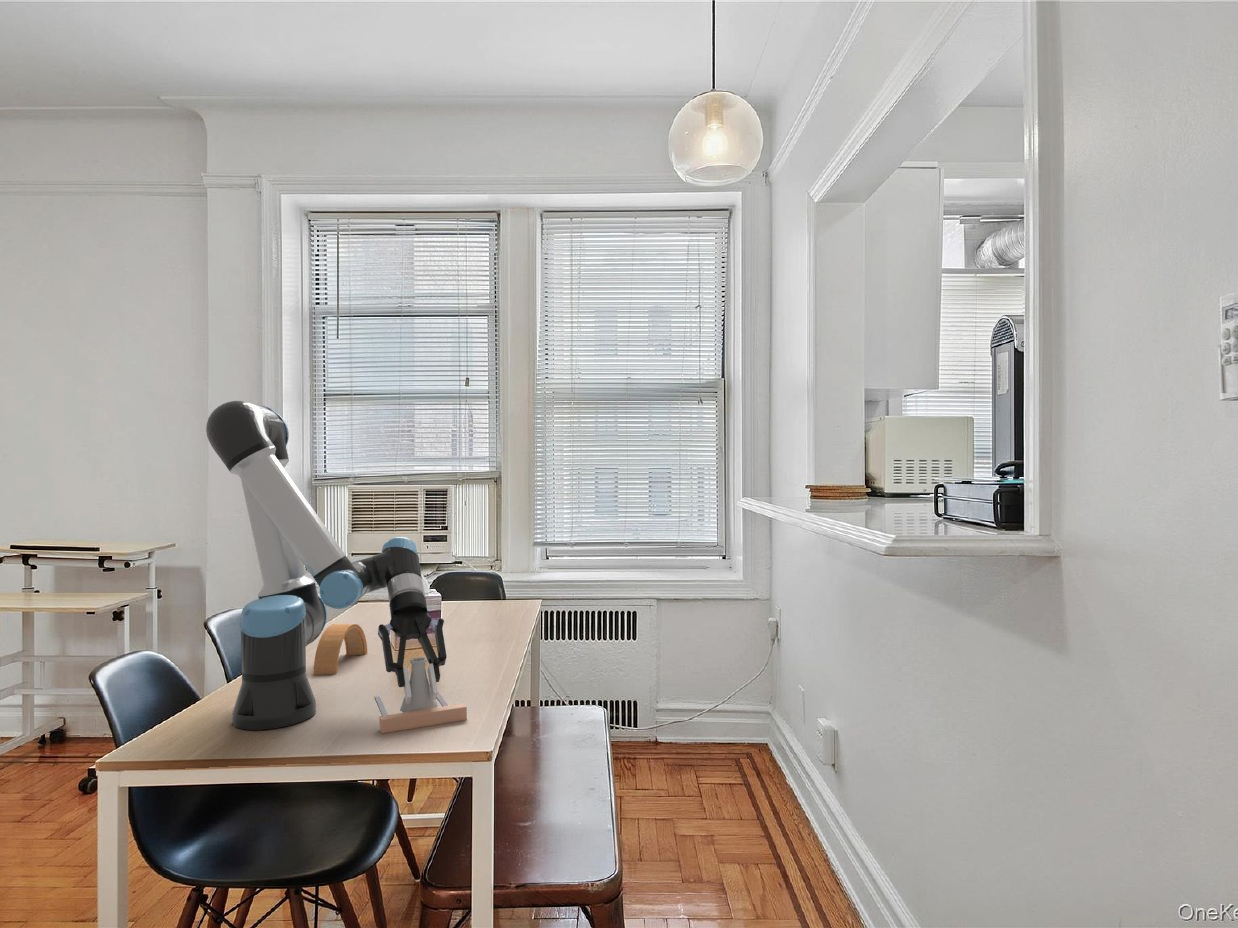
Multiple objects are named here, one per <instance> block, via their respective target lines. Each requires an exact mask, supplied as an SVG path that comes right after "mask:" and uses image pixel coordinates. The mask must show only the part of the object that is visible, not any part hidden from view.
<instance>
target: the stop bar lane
mask: <svg viewBox="0 0 1238 928" xmlns="http://www.w3.org/2000/svg"><path fill="white" fill-rule="evenodd" d="M374 699H375V701H376V703H377V706H378V708H379V710H380V712H381V715H379V731H380V733H381V734H386V733H392V732H399V731H405V730H412V729H416V728H417V729H418V728H423V727H429V726H430V727H431V726H436V725H442V724H448V723H453V722H460V721H466V720H468V719H467V718H468V717H467V715H468V712H467V709H468V708H467V705H466V704H465V703H457V704H448V703H447V702H446V701H445V699H444V698H443V696H442V695H441V694H440V692H439V691H438V694H437V698H436V699H437V700H438V701H439V703H440V704H441V705H442V706H437V707H436V708H430V709H423V710H417V711H410V712H397V713H392V714H388V711H387V709H386V707H385V705H384V703H383V701H382V699H381V696H379V695H377V696H374Z"/></svg>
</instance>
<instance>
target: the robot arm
mask: <svg viewBox="0 0 1238 928" xmlns="http://www.w3.org/2000/svg"><path fill="white" fill-rule="evenodd" d="M205 428H206V429H205V431H206V437H207V440H208V442H209V444H210V446H211V448H213V451H214V452H215V454H216V455H217V456H218V457H219V458H220V460H221V461H222V463H223V464H224V466H225V467H226V469H227V470H228V471H229V473H230V474H232V475H236V476H238V477H239V478H240V482H241V486H242V491H243V495H244V501H245V505H246V509H247V515H248V518H249V523H250V527H251V532H252V537H253V541H254V542H253V543H254V547H255V550H256V555H257V559H258V564H259V570H260V574H261V579H262V582H263V586H262V588H261V589H260V591H259V592H258V594H257V599H253V600H252V601H250V602H248V603H247V604H246V605H244V606H243V608H242V610H241V616H240V623H239V627H240V628H239V629H240V636H241V637H240V645H241V646H240V647H241V653H240V654H241V656H240V657H241V686H240V687H239V692H238V693H237V694H238V695H237V698H236V700H235V704H234V706H233V710H232V715H231V716H232V719H231V720H232V722H231V723H232V725H233V727H234V728H236V729H241V730H247V731H248V730H249V731H259V730H260V731H262V730H263V731H264V730H272V729H278V728H284V727H288V726H292V725H295V724H298V723H301V722H304V721H307V720H309V719H310V718H312V717H313V716H314V715H315V714H317V713H316V712H317V703H316V702H317V701H316V698H315V695H314V692H313V690H312V686H311V684H310V682H309V679H308V676H307V659H306V658H307V653H306V652H307V651H306V650H307V646H308V645H310V644H312V643H313V642H314V641H316V640H317V639H318V637H319V636H320V635H322V634H321V633H322V632H324V629H325V627H326V623H327V621H328V609H327V607H329V608H331V609H332V608H333V609H336V610H340V609H341V610H342V609H345V608H348V607H350V606H353V605H355V604H356V603H358V601H359V600H360V599H361V598H363V596H365V595H366V594H369V593H372V592H375V591H378V590H381V589H385V588H387V597H388V602H389V604H388V605H389V615H390V620H389V623H387V624H379V626H378V629H377V635H378V637H379V638H380V640H381V642H382V643H381V644H382V651H383V652H382V653H383V658H384V664H385V671H386V672H387V673H393V672H394V673H395V676H396V680H397V686H398V688H403V690H404V697H405V700H406V704H410V701H411V689H410V682H409V681H410V675H409V669H408V666H404V663H405V662H404V661H405V655H406V654H405V652H406V645H407V641H409V640H412V639H413V640H417V642H418V643H419V644H420V646H421V649H422V650H423V653H424V655H425V658H427V660H426V661H427V662H428V667H427V678H428V682H429V685H430V689H431V696H432V700H436V701H437V699H438V698H437V694H438V692H439V690H438V687H437V686H438V685H437V683H439V682H440V679H441V671H440V667H441V666H442V667H443V666H445V665H446V661H447V658H448V657H447V656H448V655H447V649H446V644H445V638H444V631H443V628H444V627H443V626H444V623H445V619H444V618H439V619H437V620H436V619H432V617H431V615H430V614H429V611H428V607H427V600H426V595H425V588H424V583H423V577H422V572H421V564H420V557H419V554H418V550H417V546H416V543H415V542H414V541H413V540H412V539H410V538H409V537H405V536H397V537H393V538H390V539H388V541H386V542H385V543H384V544H383V545H382V548H381V553H377V554H376V555H373V556H370V557H366V558H362V559H359V560H356V561H351V560H350V559H349V558H348V556H347V555H346V553H345V552H344V550H343V548H342V547H340V545H339V544H338V542H337V541H336V539H335V538H334V536H333V535H332V533H331V532H330V530H328V527H327V526H326V525H325V523H324V522H323V520H321V518H320V517H319V515H318V514H317V513H316V511H315V510H314V508H313V507H312V505H311V504H310V503H309V501H308V500H307V499H306V497H305V496H304V495H303V493H302V492H301V490H300V489H299V487H298V486H297V485H296V483H295V482H294V480H293V478H291V476H290V475H289V473H288V472H287V471H286V469H285V468H286V466H287V465H288V463H290V462H289V461H290V459H289V454H288V450H287V446H288V445H287V444H288V442H289V438H290V432H289V427H288V424H287V423H286V421H285V419H284V418H283V417H282V416H281V414H279V413H277V412H276V411H275V410H273V409H272V408H270V407H267V406H265V405H260V404H254V403H251V402H248V401H244V400H231V401H228V402H224V403H222V404H219V406H217V407H216V408H215V409H214V410H213V411H212V412H211V413H210V415H209V417H208V418H207V422H206V427H205ZM305 568H306V569H305ZM306 570H307V572H308V573H309V574H310V575H311V577H312V578H311V577H309V576H308V575H307V574H306ZM316 584H317V585H318V586H319V592H318V590H317V585H316ZM318 593H319V595H318ZM430 626H431V627H432V631H433V632H434V633H435V634H434V638H435V644H436V652H437V653H436V652H435V650H434V647H433V646H432V645H433V644H432V643H431V641H430V638H429V636H428V632H427V631H428V629H429V627H430ZM391 631H392V632H393V633H395V634H396V635H397V636H398V637H399V641H398V642H399V644H398V652H397V653H398V654H397V659H396V662H394V658H393V651H392V643H391V638H390V635H391Z"/></svg>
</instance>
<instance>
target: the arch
mask: <svg viewBox="0 0 1238 928" xmlns="http://www.w3.org/2000/svg"><path fill="white" fill-rule="evenodd" d="M343 642H344V645H345V655H349V656H353V655H357V656H359V655H360V656H362V655H367V654H368V642H367V638H366V635H365V633H364V630H363V628H362V626H360V625H359V624H357V623H349V624H348V623H346V624H345V623H343V624H341V623H339V624H338V623H337V624H330V625H329V626H327V627H326V629H325V630H323V633H322V634H321V637H320V638H319V640H318V644H317V647H316V652H315V655H314V661H313V675H337V674H338V673H339V671H338V666H339V657H340V651H341V648H342V644H343Z"/></svg>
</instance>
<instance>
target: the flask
mask: <svg viewBox="0 0 1238 928" xmlns="http://www.w3.org/2000/svg"><path fill="white" fill-rule="evenodd" d="M427 661H428V660H427V658H426V657H424V656H423V657H420V656H419V657H418V656H417V657H413V658H410V660H409V663H410V664H411V672H410V676H409V682H410V689H411V701H410V704H406V700H405V696H404V698H403V700H402V703H401V706H400V709H399V710H400V712H401V713H403V712H410V711H417V710H423V709H430V708H436V707H438V704H437V699H436V700H432V696H431V689H430V683H429V678H428V674H427V671H426V662H427Z"/></svg>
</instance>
